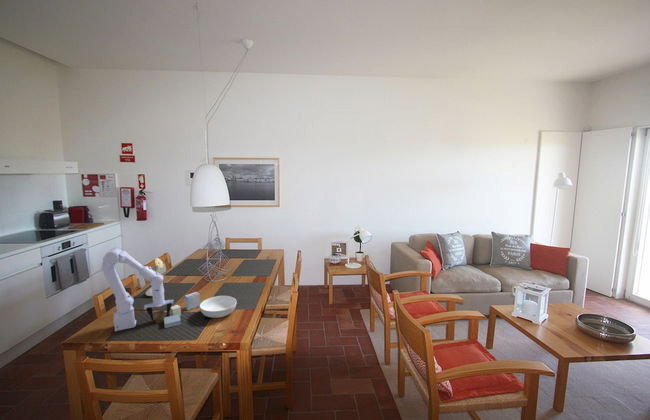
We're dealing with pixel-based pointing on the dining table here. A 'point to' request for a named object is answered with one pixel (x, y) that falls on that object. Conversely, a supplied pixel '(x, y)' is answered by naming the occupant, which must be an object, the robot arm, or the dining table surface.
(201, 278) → the dining table surface
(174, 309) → the sage block
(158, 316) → the walnut block
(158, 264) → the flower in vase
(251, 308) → the dining table surface
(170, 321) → the base block
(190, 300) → the medicine box
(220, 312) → the serving bowl
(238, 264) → the dining table surface
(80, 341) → the dining table surface
